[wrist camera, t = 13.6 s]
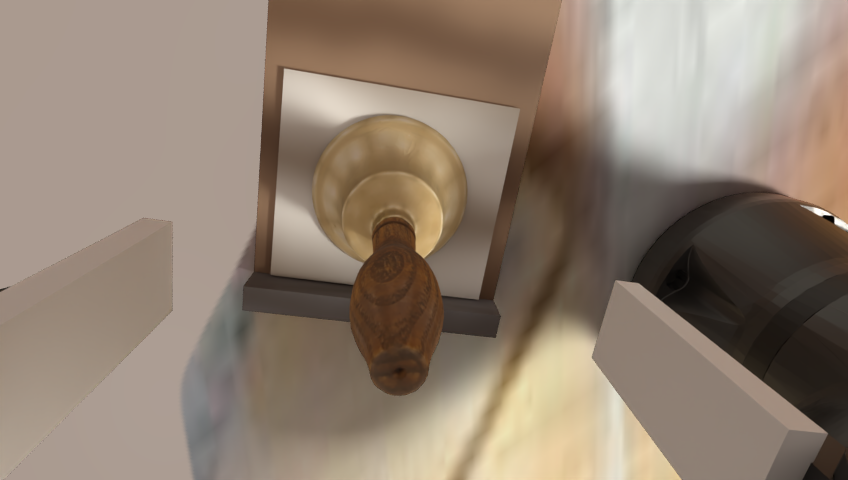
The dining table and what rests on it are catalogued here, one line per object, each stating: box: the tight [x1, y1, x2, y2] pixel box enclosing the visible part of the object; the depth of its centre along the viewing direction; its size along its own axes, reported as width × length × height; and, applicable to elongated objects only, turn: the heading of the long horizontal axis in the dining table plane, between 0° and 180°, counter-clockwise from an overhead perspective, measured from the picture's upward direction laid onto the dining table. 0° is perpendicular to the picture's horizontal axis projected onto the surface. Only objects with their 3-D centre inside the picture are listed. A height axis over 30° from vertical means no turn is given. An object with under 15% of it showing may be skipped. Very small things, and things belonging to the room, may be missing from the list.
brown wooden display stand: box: [242, 0, 562, 338], centre depth 25 cm, size 18×14×5 cm
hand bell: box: [312, 115, 468, 396], centre depth 17 cm, size 8×8×16 cm
